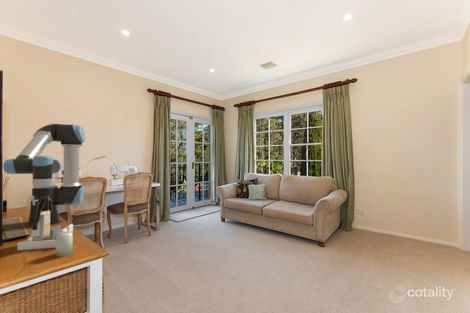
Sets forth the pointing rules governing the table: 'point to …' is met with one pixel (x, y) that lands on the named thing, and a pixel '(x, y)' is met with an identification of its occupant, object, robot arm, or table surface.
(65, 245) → the sage jar
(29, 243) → the white open tray
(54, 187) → the robot arm
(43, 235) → the supplement box
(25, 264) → the table surface
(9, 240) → the table surface
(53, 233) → the pusher
